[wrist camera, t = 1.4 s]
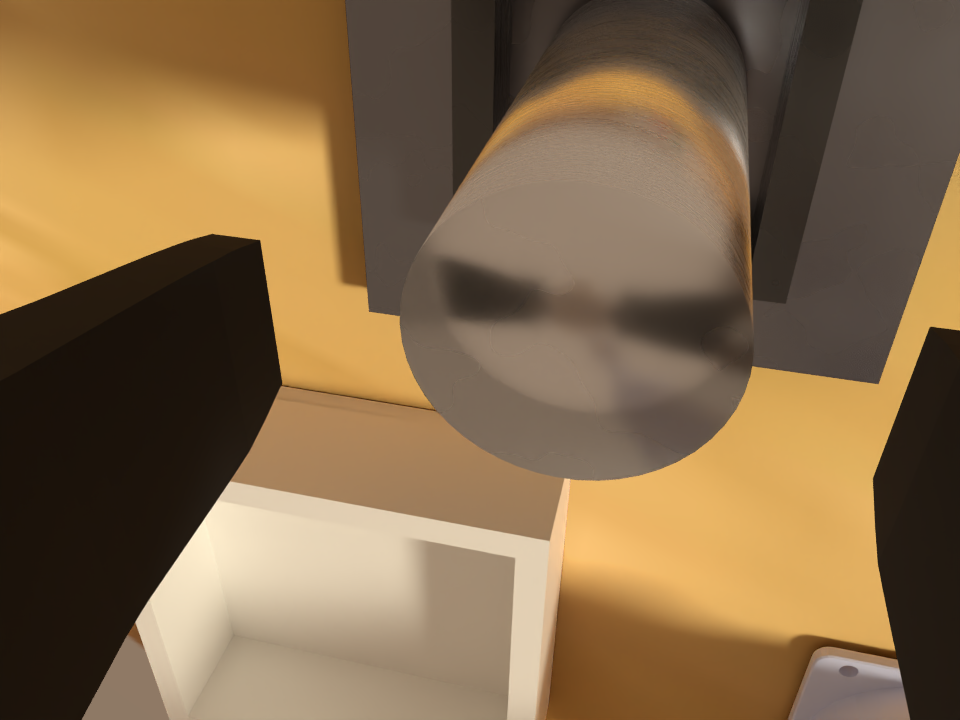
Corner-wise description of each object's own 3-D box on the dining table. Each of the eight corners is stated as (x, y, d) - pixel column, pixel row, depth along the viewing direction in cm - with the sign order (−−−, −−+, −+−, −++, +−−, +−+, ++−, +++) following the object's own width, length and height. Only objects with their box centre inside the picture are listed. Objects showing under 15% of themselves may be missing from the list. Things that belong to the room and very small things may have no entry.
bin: (574, 433, 23) (549, 541, 20) (548, 702, 31) (527, 812, 28) (157, 365, 26) (76, 452, 23) (225, 631, 33) (171, 724, 30)
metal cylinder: (766, -9, 15) (791, 204, 8) (726, 199, 18) (719, 505, 11) (544, -23, 16) (391, 161, 9) (534, 178, 18) (406, 451, 11)
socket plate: (1091, -287, 13) (1154, -292, 11) (872, 359, 20) (887, 425, 18) (344, -291, 15) (286, -296, 13) (382, 291, 22) (347, 344, 20)
